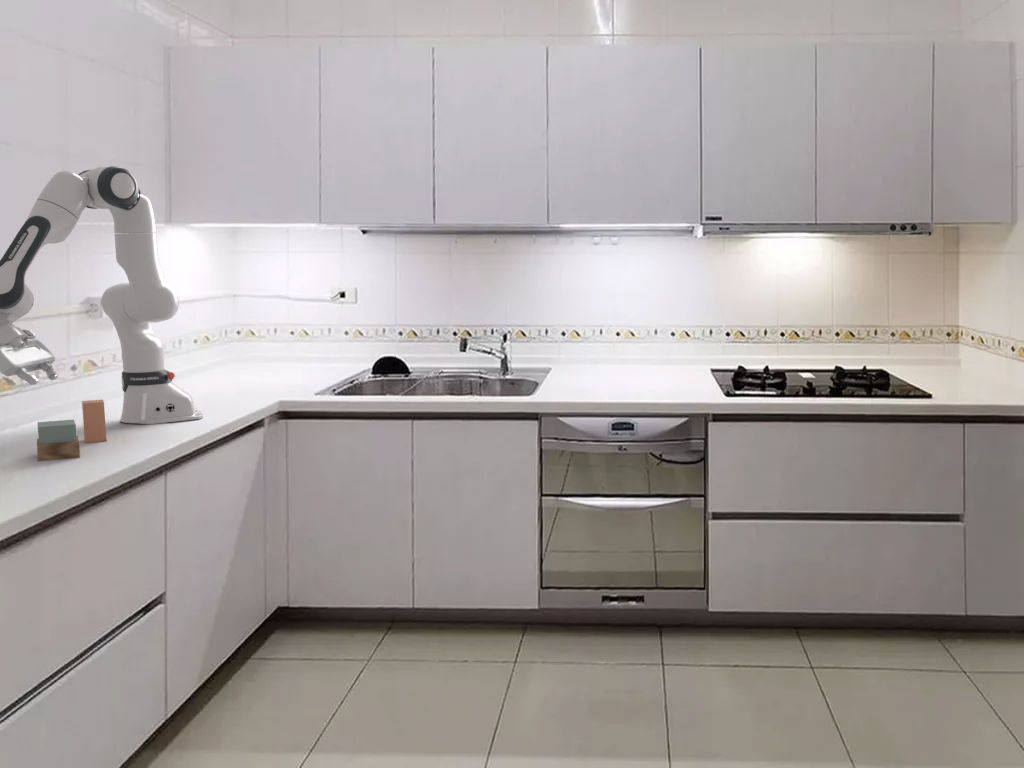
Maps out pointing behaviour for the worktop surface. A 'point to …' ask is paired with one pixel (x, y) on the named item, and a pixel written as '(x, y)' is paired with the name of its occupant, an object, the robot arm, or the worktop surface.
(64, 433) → the tower top
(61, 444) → the tower base
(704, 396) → the worktop surface
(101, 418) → the pillar
